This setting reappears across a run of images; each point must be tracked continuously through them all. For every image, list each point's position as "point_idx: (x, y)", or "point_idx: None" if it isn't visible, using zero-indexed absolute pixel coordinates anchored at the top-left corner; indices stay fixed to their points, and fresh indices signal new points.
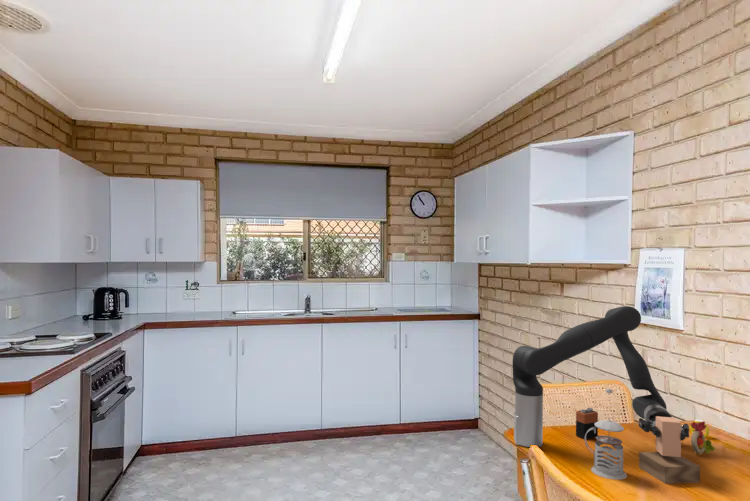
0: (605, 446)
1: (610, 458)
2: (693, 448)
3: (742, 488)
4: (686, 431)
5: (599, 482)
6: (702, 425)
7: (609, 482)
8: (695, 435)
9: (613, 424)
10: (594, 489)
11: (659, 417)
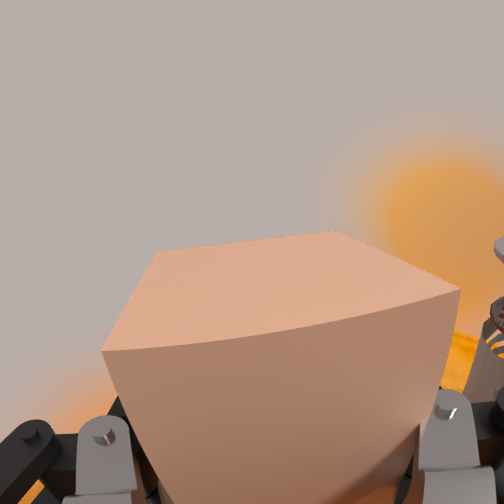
0: None
1: (489, 344)
2: None
3: (34, 484)
4: (61, 439)
5: (472, 361)
6: None
7: (458, 374)
8: None
9: None
10: (459, 333)
11: (392, 277)
